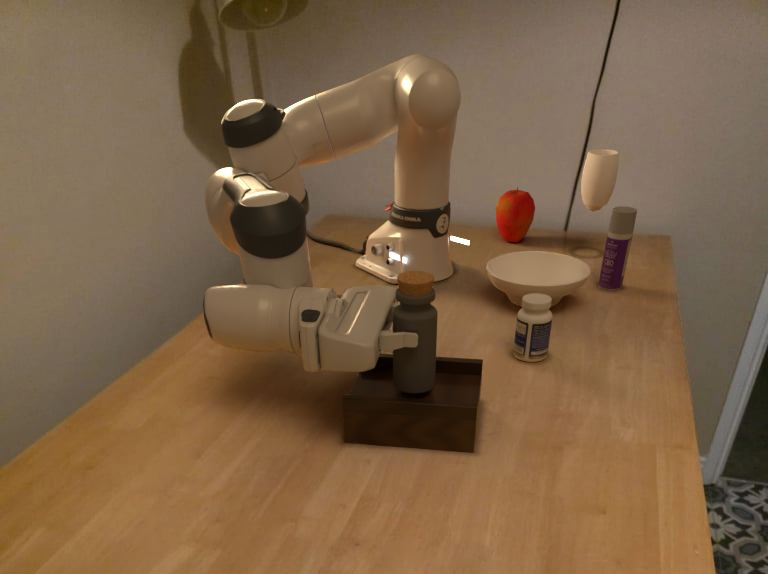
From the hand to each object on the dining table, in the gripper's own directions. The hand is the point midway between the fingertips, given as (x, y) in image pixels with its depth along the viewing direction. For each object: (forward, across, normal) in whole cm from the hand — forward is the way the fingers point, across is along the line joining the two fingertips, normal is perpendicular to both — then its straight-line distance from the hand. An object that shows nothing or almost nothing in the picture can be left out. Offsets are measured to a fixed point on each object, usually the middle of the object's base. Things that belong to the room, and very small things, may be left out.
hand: (421, 327), depth 88 cm
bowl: (+16, -48, -14) cm, 53 cm away
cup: (+28, -80, -14) cm, 86 cm away
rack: (-1, 0, -14) cm, 14 cm away
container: (+32, -58, -14) cm, 68 cm away
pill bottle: (+16, -24, -14) cm, 32 cm away
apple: (+11, -86, -14) cm, 88 cm away
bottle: (-1, 0, -8) cm, 9 cm away
